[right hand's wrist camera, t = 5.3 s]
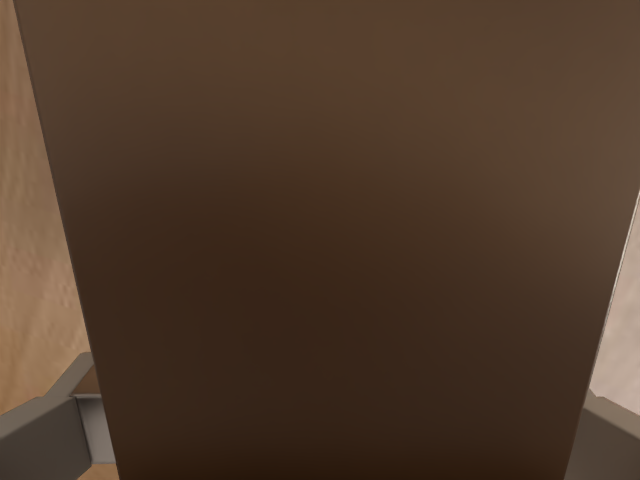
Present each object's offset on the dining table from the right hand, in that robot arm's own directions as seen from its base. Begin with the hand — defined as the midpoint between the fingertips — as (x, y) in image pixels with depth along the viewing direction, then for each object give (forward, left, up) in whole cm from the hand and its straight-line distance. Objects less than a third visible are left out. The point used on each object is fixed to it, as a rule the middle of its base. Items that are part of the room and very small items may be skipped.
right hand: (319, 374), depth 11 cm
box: (+10, 0, -8) cm, 13 cm away
